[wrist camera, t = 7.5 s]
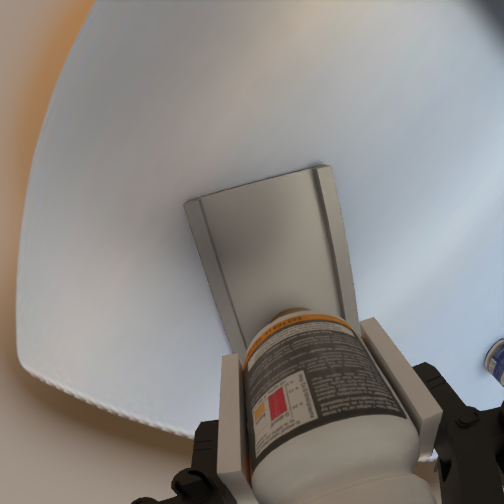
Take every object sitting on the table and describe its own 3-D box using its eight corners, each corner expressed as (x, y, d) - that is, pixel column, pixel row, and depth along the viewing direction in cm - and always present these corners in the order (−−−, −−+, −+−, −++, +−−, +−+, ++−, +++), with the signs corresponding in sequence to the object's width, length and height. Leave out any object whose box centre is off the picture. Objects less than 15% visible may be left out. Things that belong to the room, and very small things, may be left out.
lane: (187, 201, 27) (174, 213, 21) (324, 164, 26) (348, 168, 20) (265, 426, 35) (269, 464, 29) (361, 400, 34) (377, 434, 28)
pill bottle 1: (218, 367, 15) (209, 567, 5) (300, 280, 14) (393, 486, 4) (303, 414, 16) (341, 576, 7) (381, 343, 15) (480, 500, 5)
